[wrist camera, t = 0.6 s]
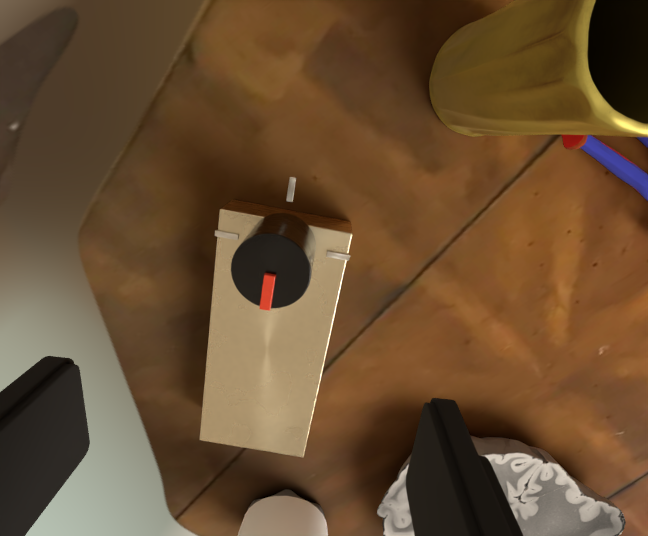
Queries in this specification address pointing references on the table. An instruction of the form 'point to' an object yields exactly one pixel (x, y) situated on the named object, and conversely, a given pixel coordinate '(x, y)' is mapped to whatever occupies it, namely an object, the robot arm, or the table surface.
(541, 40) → the vase
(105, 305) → the table surface
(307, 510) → the cup
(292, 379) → the panel
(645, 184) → the character figure
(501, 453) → the brain slice
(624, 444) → the table surface
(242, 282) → the knob
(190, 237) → the table surface
